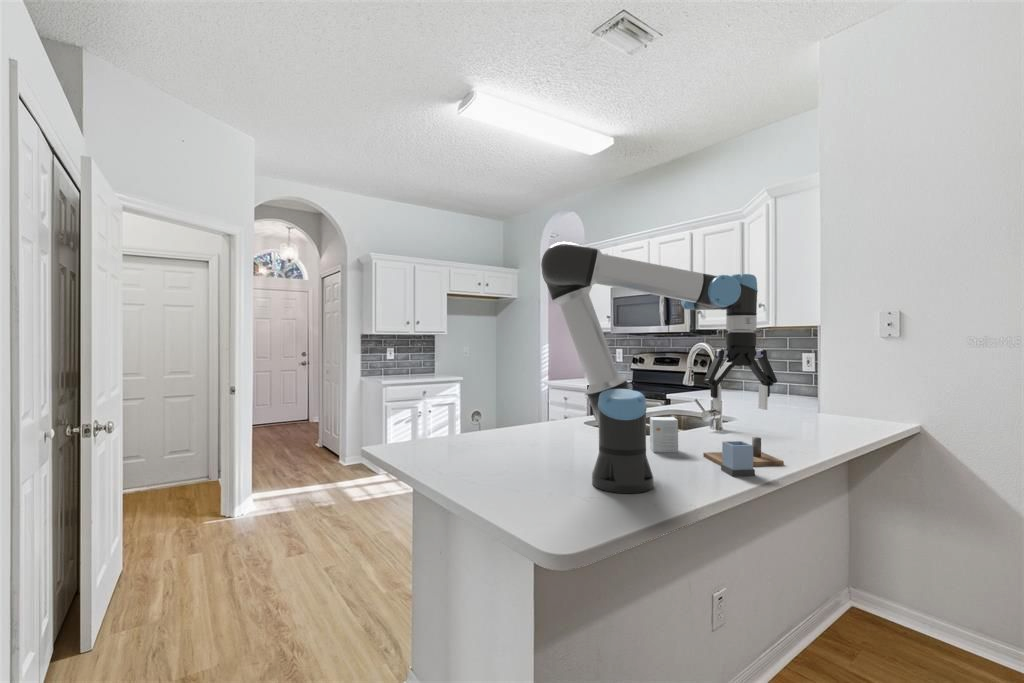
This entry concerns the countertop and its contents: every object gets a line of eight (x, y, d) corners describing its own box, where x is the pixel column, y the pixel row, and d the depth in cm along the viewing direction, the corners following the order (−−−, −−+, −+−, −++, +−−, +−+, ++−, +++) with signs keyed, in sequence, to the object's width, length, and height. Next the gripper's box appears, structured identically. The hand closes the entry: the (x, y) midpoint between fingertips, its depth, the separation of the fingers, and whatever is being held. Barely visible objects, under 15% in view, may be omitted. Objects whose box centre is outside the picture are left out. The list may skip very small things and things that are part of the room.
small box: (674, 448, 163) (674, 416, 162) (678, 452, 157) (678, 419, 157) (649, 448, 163) (649, 416, 163) (652, 452, 158) (652, 419, 158)
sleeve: (732, 476, 131) (732, 446, 131) (720, 470, 137) (720, 441, 137) (754, 475, 131) (754, 445, 131) (742, 469, 137) (742, 440, 137)
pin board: (722, 466, 140) (722, 443, 140) (703, 456, 152) (703, 434, 152) (783, 465, 141) (783, 441, 141) (759, 454, 153) (759, 433, 153)
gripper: (705, 331, 129) (704, 412, 129) (792, 331, 132) (791, 410, 133) (691, 331, 136) (690, 408, 137) (773, 332, 140) (772, 406, 140)
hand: (740, 409), depth 135 cm, fingers open, 13 cm apart
